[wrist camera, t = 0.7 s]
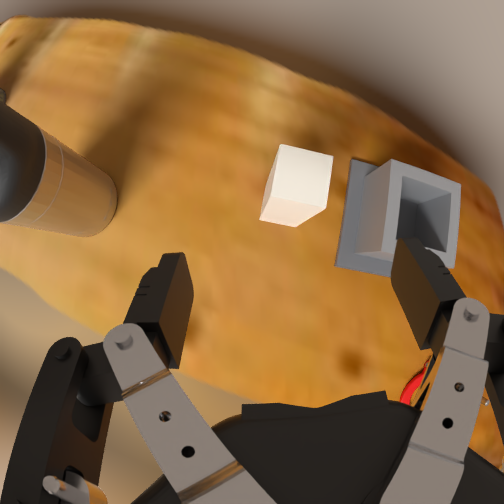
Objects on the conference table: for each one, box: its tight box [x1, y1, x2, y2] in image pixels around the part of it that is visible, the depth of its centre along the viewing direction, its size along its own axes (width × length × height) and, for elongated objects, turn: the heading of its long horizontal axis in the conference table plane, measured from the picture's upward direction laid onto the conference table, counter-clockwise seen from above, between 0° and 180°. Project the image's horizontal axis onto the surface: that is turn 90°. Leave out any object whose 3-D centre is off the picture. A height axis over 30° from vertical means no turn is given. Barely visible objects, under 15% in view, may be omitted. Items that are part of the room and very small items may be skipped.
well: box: [334, 159, 461, 277], centre depth 35 cm, size 14×14×9 cm
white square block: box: [259, 144, 333, 227], centre depth 32 cm, size 4×4×14 cm
